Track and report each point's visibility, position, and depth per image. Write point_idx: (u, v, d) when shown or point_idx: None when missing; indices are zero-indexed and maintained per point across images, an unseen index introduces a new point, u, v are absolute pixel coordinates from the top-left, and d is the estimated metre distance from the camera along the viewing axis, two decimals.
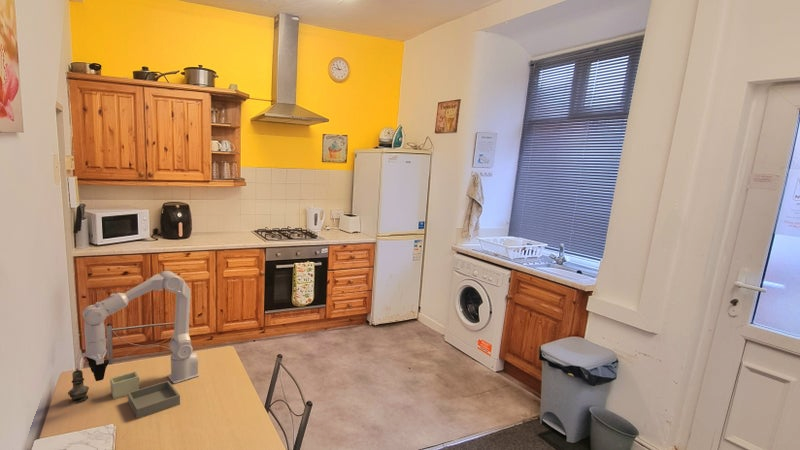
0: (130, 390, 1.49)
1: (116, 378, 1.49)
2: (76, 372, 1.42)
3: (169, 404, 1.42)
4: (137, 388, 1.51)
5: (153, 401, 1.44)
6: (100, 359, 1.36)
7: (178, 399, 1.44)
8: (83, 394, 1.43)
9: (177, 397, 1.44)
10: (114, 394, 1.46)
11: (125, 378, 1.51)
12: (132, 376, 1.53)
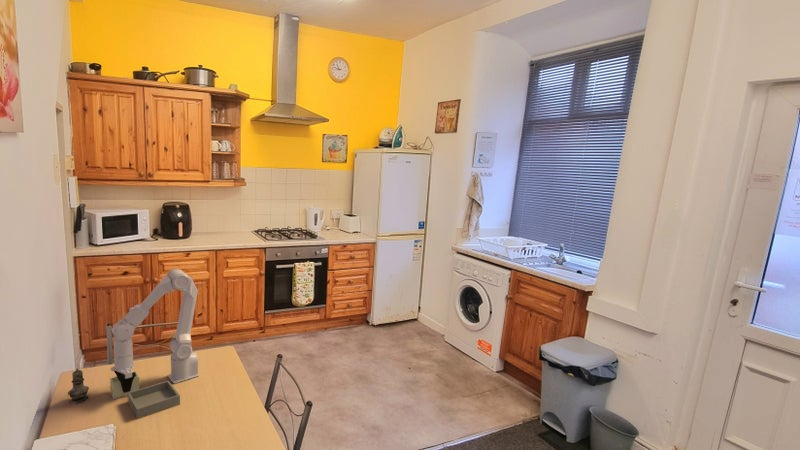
0: (130, 390, 1.49)
1: (116, 378, 1.49)
2: (76, 372, 1.42)
3: (169, 404, 1.42)
4: (137, 388, 1.51)
5: (153, 401, 1.44)
6: (129, 373, 1.44)
7: (178, 399, 1.44)
8: (83, 394, 1.43)
9: (177, 397, 1.44)
10: (114, 394, 1.46)
11: None
12: None
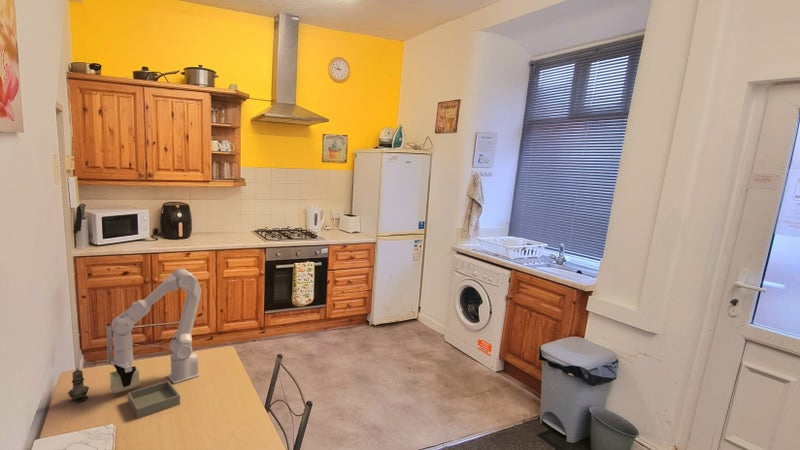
0: (130, 384, 1.49)
1: (116, 372, 1.49)
2: (76, 372, 1.42)
3: (169, 404, 1.42)
4: (137, 382, 1.50)
5: (153, 401, 1.44)
6: (128, 367, 1.44)
7: (178, 399, 1.44)
8: (83, 394, 1.43)
9: (177, 397, 1.44)
10: (114, 388, 1.45)
11: None
12: None
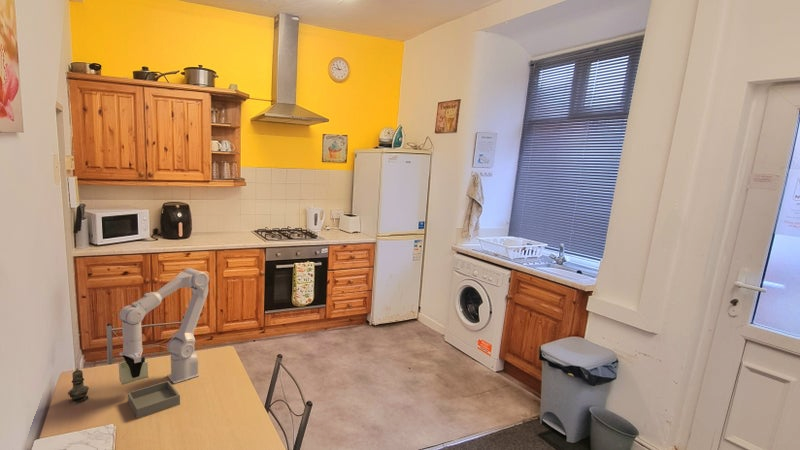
0: (139, 376, 1.46)
1: (125, 363, 1.46)
2: (76, 372, 1.42)
3: (169, 404, 1.42)
4: (146, 374, 1.48)
5: (153, 401, 1.44)
6: (138, 358, 1.41)
7: (178, 399, 1.44)
8: (83, 394, 1.43)
9: (177, 397, 1.44)
10: (123, 379, 1.43)
11: None
12: None
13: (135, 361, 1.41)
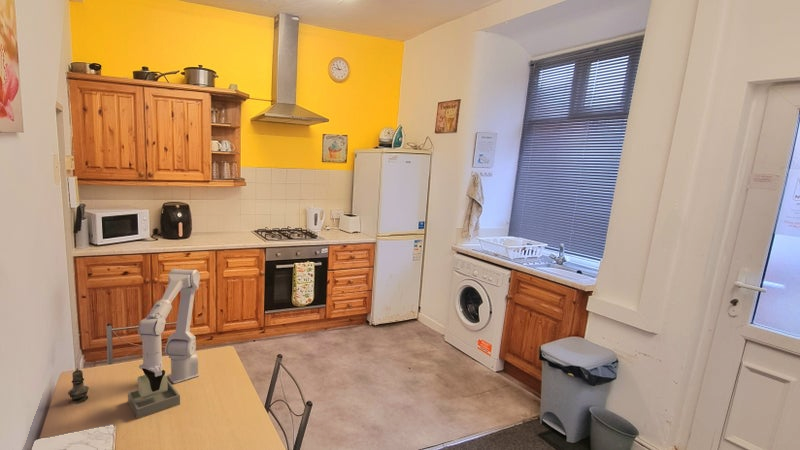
0: None
1: (144, 377, 1.43)
2: (76, 372, 1.42)
3: (169, 404, 1.42)
4: (165, 387, 1.44)
5: (153, 401, 1.44)
6: (158, 371, 1.38)
7: (178, 399, 1.44)
8: (83, 394, 1.43)
9: (177, 397, 1.44)
10: (142, 393, 1.39)
11: None
12: None
13: (156, 374, 1.37)
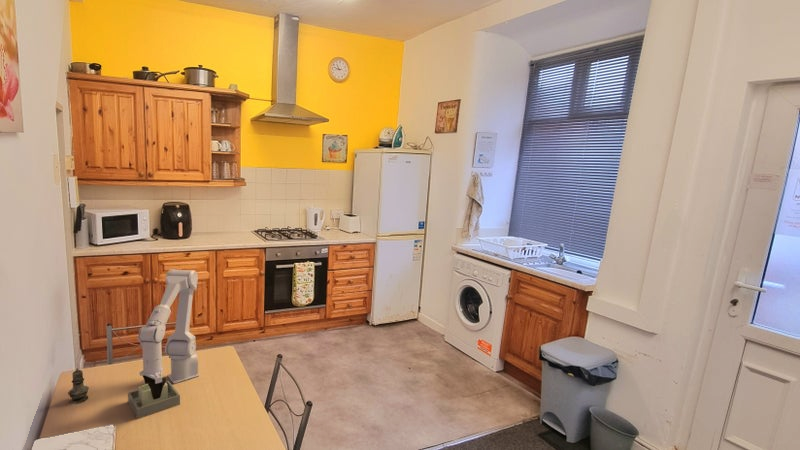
0: (159, 399, 1.43)
1: (144, 386, 1.44)
2: (76, 372, 1.42)
3: (169, 404, 1.42)
4: (166, 396, 1.45)
5: None
6: (159, 378, 1.38)
7: (178, 399, 1.44)
8: (83, 394, 1.43)
9: (177, 397, 1.44)
10: (143, 403, 1.40)
11: None
12: None
13: (156, 381, 1.38)
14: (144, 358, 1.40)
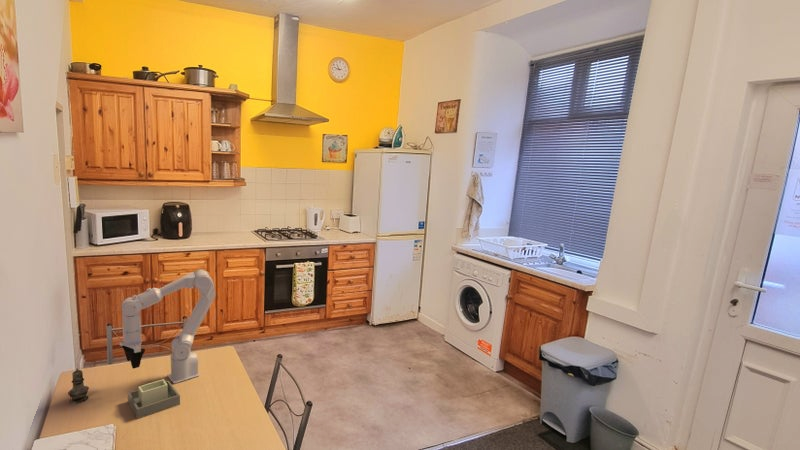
0: (159, 399, 1.43)
1: (144, 386, 1.44)
2: (76, 372, 1.42)
3: (169, 404, 1.42)
4: (166, 396, 1.45)
5: None
6: (137, 348, 1.47)
7: (178, 399, 1.44)
8: (83, 394, 1.43)
9: (177, 397, 1.44)
10: (143, 403, 1.40)
11: (153, 386, 1.46)
12: (160, 384, 1.47)
13: (135, 351, 1.46)
14: None
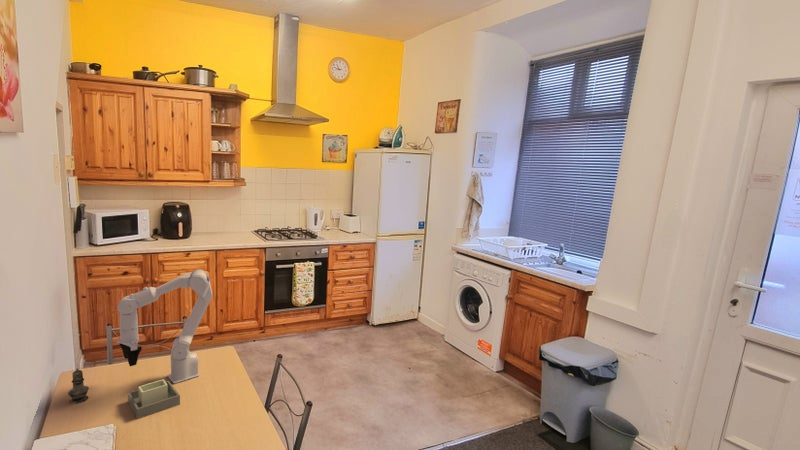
0: (159, 399, 1.43)
1: (144, 386, 1.44)
2: (76, 372, 1.42)
3: (169, 404, 1.42)
4: (166, 396, 1.45)
5: None
6: (134, 346, 1.48)
7: (178, 399, 1.44)
8: (83, 394, 1.43)
9: (177, 397, 1.44)
10: (143, 403, 1.40)
11: (153, 386, 1.46)
12: (160, 384, 1.47)
13: (132, 349, 1.48)
14: None
